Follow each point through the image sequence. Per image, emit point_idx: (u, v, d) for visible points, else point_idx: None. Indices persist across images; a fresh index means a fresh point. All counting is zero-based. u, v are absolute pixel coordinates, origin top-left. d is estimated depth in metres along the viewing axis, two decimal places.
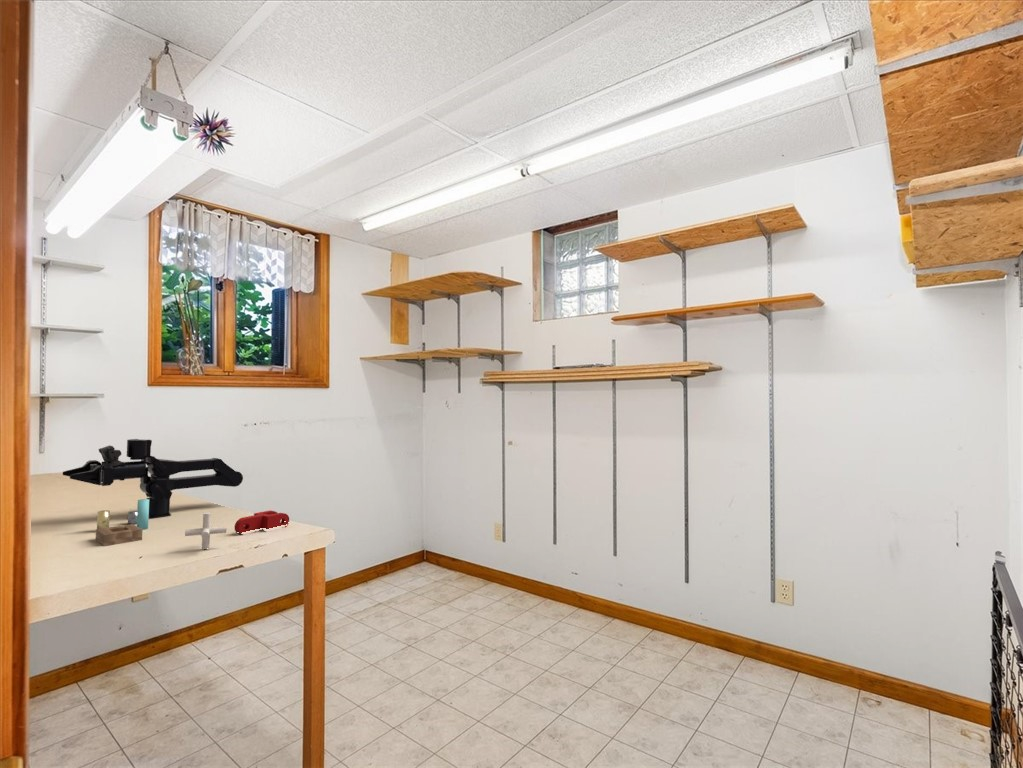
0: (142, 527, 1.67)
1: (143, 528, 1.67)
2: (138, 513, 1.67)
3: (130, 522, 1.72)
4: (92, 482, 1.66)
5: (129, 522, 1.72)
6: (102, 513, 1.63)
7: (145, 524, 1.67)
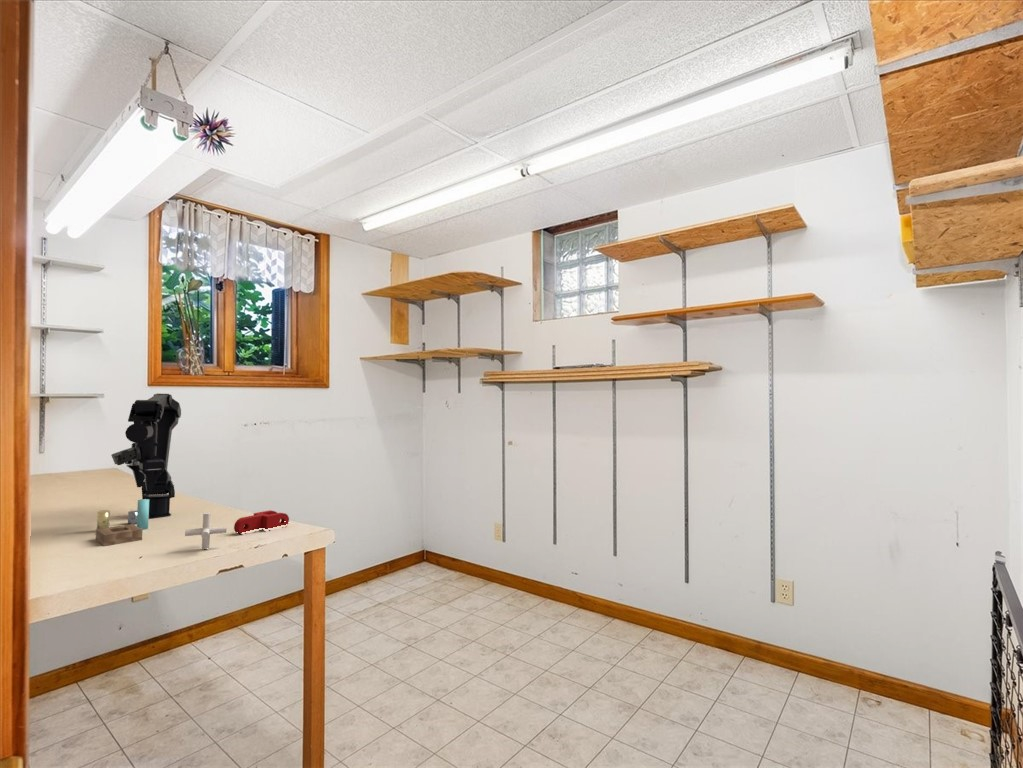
0: (142, 527, 1.67)
1: (143, 528, 1.67)
2: (138, 513, 1.67)
3: (130, 522, 1.72)
4: (159, 474, 1.66)
5: (129, 522, 1.72)
6: (102, 513, 1.63)
7: (145, 524, 1.67)
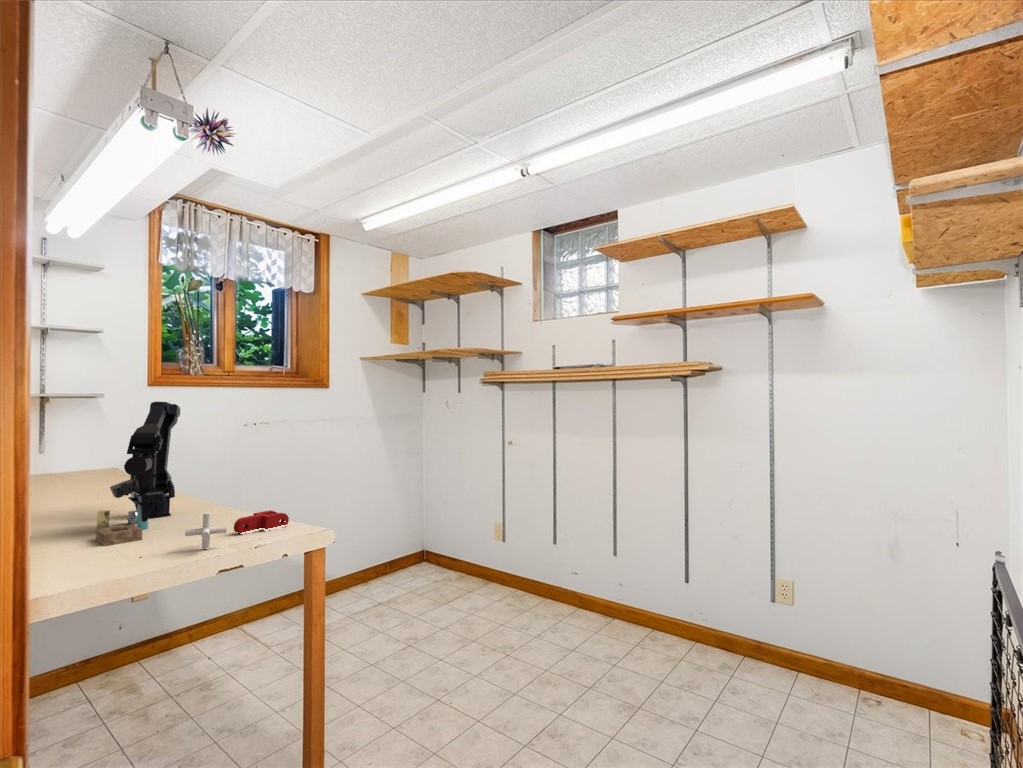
0: (142, 527, 1.67)
1: (143, 528, 1.67)
2: (138, 513, 1.67)
3: (130, 522, 1.72)
4: (154, 504, 1.67)
5: (129, 522, 1.72)
6: (102, 513, 1.63)
7: (145, 524, 1.67)
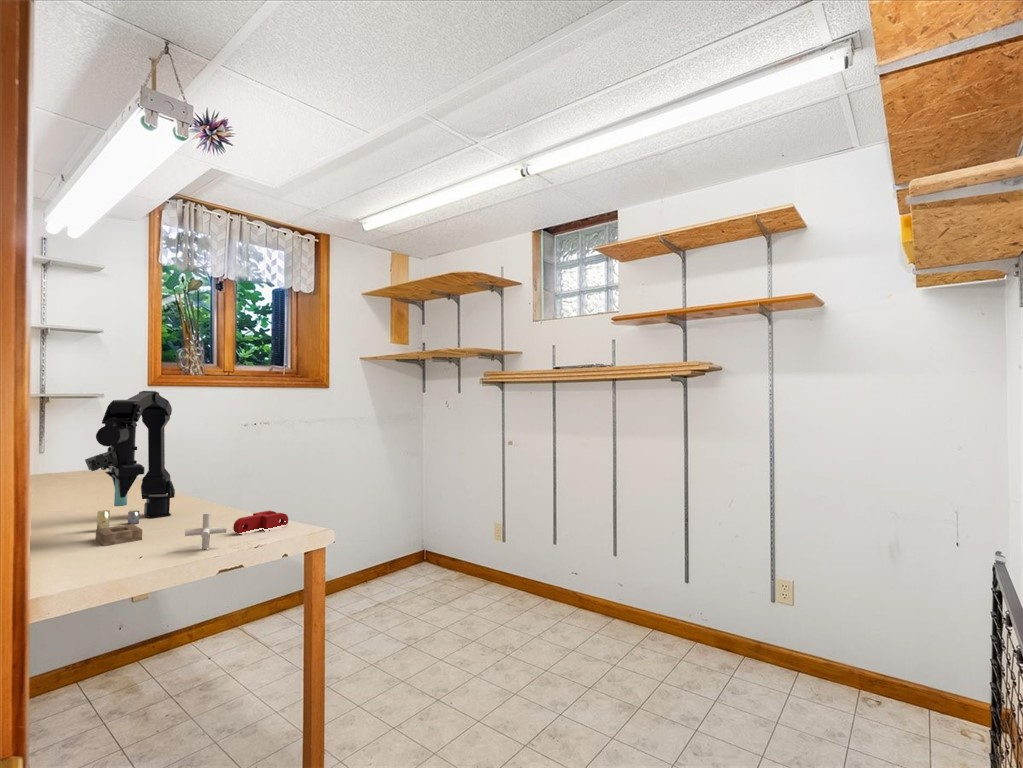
0: (120, 503, 1.54)
1: (121, 504, 1.54)
2: (116, 488, 1.54)
3: (130, 522, 1.72)
4: (133, 479, 1.55)
5: (129, 522, 1.72)
6: (102, 513, 1.63)
7: (124, 500, 1.55)
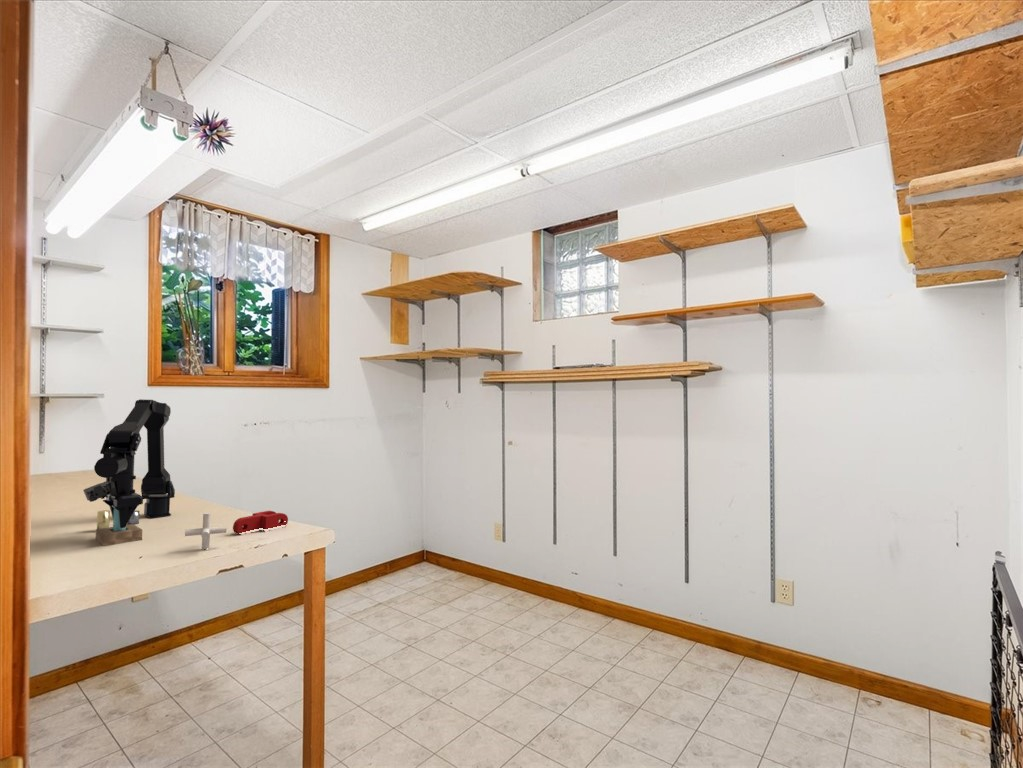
0: None
1: None
2: (114, 523, 1.54)
3: (130, 522, 1.72)
4: (133, 509, 1.54)
5: (129, 522, 1.72)
6: (102, 513, 1.63)
7: None
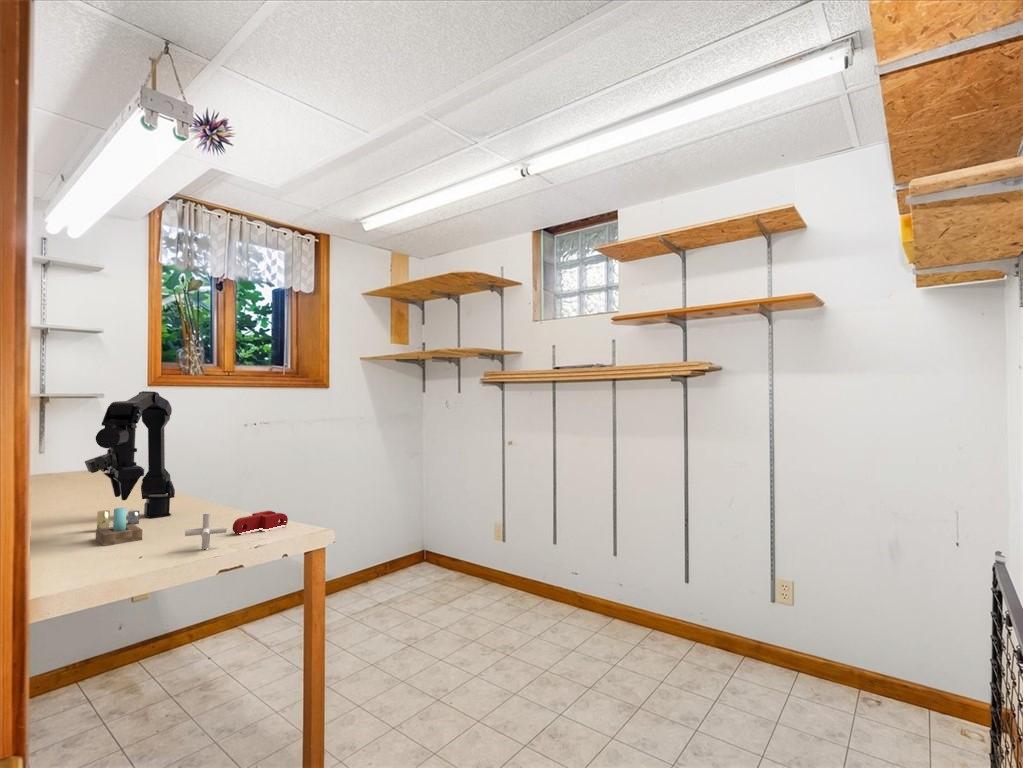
0: None
1: None
2: (114, 523, 1.54)
3: (130, 522, 1.72)
4: (135, 481, 1.54)
5: (129, 522, 1.72)
6: (102, 513, 1.63)
7: None
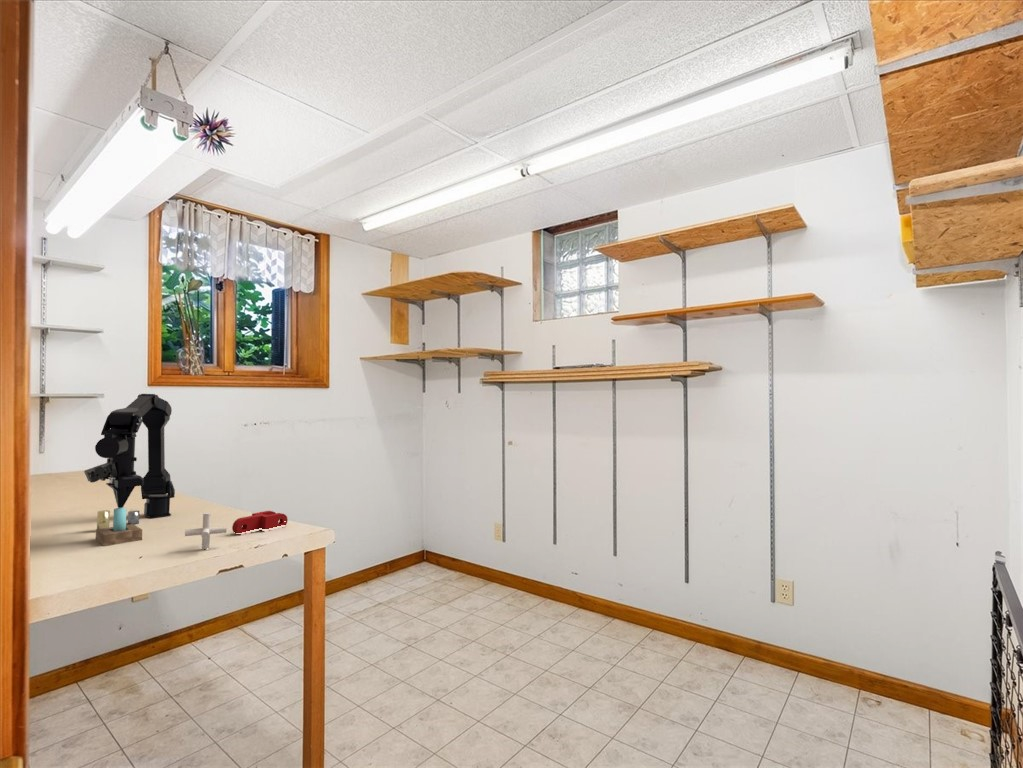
0: None
1: None
2: (114, 523, 1.54)
3: (130, 522, 1.72)
4: (131, 489, 1.56)
5: (129, 522, 1.72)
6: (102, 513, 1.63)
7: None
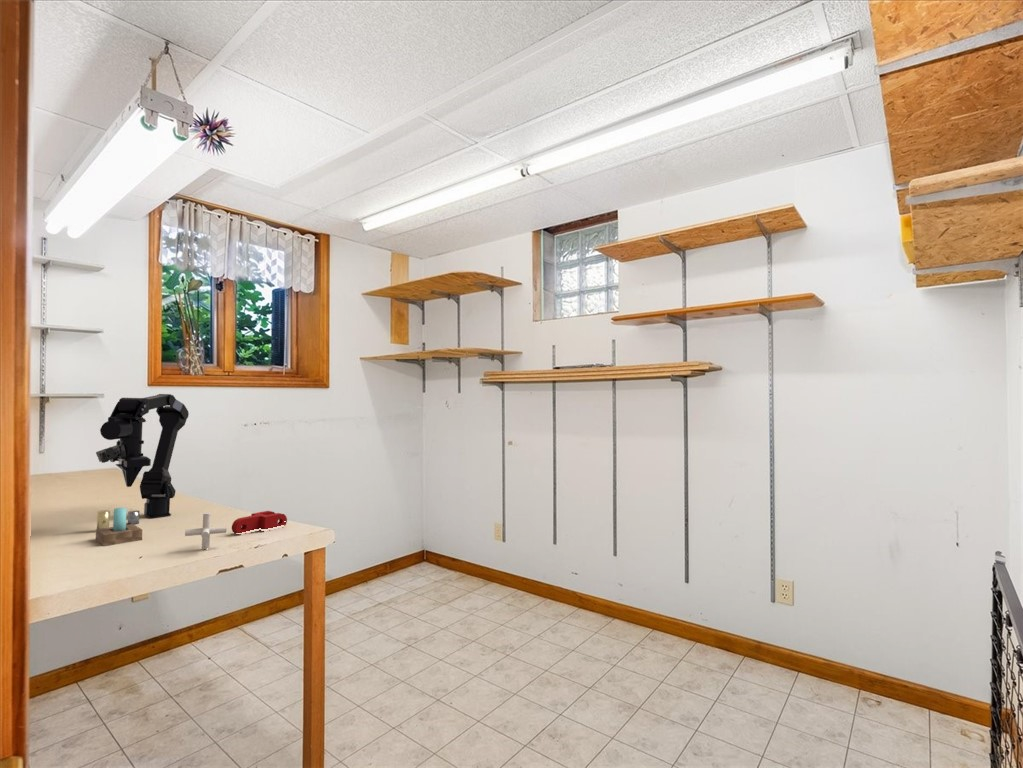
0: None
1: None
2: (114, 523, 1.54)
3: (130, 522, 1.72)
4: (139, 470, 1.69)
5: (129, 522, 1.72)
6: (102, 513, 1.63)
7: None
